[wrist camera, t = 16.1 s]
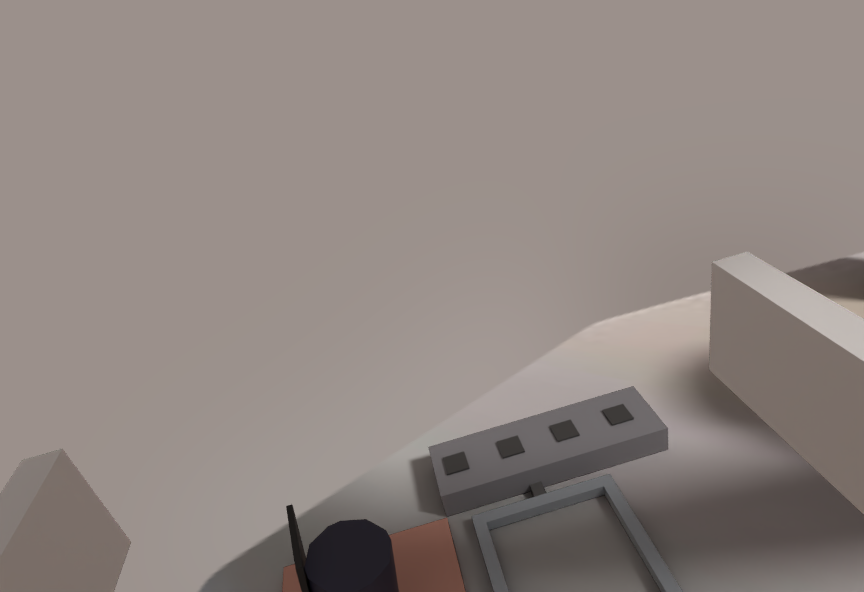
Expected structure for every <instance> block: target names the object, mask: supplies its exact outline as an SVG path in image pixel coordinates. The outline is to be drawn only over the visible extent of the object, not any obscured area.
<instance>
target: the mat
mask: <svg viewBox="0 0 864 592" xmlns="http://www.w3.org/2000/svg"><path fill="white" fill-rule="evenodd" d="M389 537H390V538H391V542H392V548H393V555H394V562H395V568H396V575H397V582H398V588H399V592H466V591H465V587H464V583H463V579H462V575H461V571H460V567H459V563H458V559H457V555H456V551H455V547H454V543H453V539H452V535H451V531H450V527H449V523H448V520H447V518H444V519H440V520H437V521H434V522H431V523H427V524H424V525H421V526H417V527H414V528H411V529H408V530H404V531H401V532H398V533H394V534H391V535H389ZM282 592H302V591H301V587H300V584H299V580H298V576H297V573H296V569H295V564H293V565H290V566H286V567H284V571H283V587H282Z"/></svg>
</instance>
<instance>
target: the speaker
mask: <svg viewBox="0 0 864 592" xmlns="http://www.w3.org/2000/svg"><path fill="white" fill-rule="evenodd" d="M287 514H288V521H289V528H290V535H291V542H292V548H293V555H294V562H295V569H296V573H297V576H298V580H299V584H300V587H301V591H302V592H399V588H398V582H397V575H396V568H395V562H394V555H393V548H392V542H391V538H390V537H389V535H388V533H387V531H386V530H384V529H383V528H381V527H379V526H377V525H375V524H374V523H372V522H370V521H368V520H366V519H364V520H348V521H339V522H337V523H335V524H333V525H330V526H328V527H327V528H326V529H325V530H324V531H323V532H322V533H321V534H320V535H319V536H318V537H317V538H316V539H315V540H314V541H313V542H312V543H311V544H310V545H309V549H308V553H307V558H306V557H305V553H304V549H303V545H302V541H301V537H300V533H299V529H298V525H297V521H296V517H295V513H294V510H293V506H292V505H289V506H287Z"/></svg>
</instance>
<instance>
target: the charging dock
mask: <svg viewBox="0 0 864 592" xmlns="http://www.w3.org/2000/svg"><path fill="white" fill-rule="evenodd" d="M667 449H668V428H667V427H666V425H665V424H664V423H663V422H662V420H661V419H660V418H659V417H658V416H657V414H656V413H655V412H654V411H653V410H652V408H651V407H650V406H649V405H648V403H647V402H646V401H645V400H644V399H643V397H642V396H641V395H640V394H639V393H638V391H637V390H636V389H635V388H634V386H632V387H629V388H625V389H622V390H618V391H615V392H612V393H608V394H605V395H602V396H598V397H595V398H592V399H588V400H585V401H582V402H578V403H575V404H571V405H568V406H565V407H561V408H558V409H555V410H551V411H548V412H545V413H541V414H538V415H534V416H531V417H528V418H524V419H521V420H518V421H514V422H511V423H508V424H504V425H501V426H498V427H494V428H491V429H487V430H484V431H481V432H477V433H474V434H471V435H467V436H464V437H461V438H457V439H454V440H450V441H447V442H444V443H440V444H437V445H434V446H430V447H429V451H430V455H431V460H432V464H433V468H434V472H435V476H436V480H437V484H438V488H439V492H440V496H441V499H442V503H443V506H444V509H445V512H446V516H447V517H448V516H451V515H454V514H457V513H461V512H464V511H467V510H471V509H474V508H477V507H480V506H484V505H487V504H490V503H494V502H497V501H500V500H503V499H507V498H510V497H513V496H517V495H520V494H523V493H526V492H530V491H531V492H532V495H533V497H532V498H529V499H526V500H522V501H519V502H516V503H512V504H509V505H506V506H503V507H499V508H496V509H493V510H490V511H486V512H483V513H480V514H476V515H473V516H472V520H473V524H474V527H475V530H476V534H477V537H478V540H479V544H480V547H481V550H482V554H483V557H484V560H485V564H486V567H487V570H488V574H489V577H490V581H491V584H492V587H493V591H494V592H509V591H508V588H507V585H506V582H505V578H504V575H503V572H502V569H501V566H500V563H499V560H498V557H497V554H496V551H495V548H494V544H493V541H492V538H491V535H490V532H489V530H491V529H494V528H498V527H501V526H504V525H507V524H511V523H514V522H517V521H520V520H524V519H527V518H530V517H533V516H537V515H540V514H543V513H546V512H550V511H553V510H556V509H559V508H563V507H566V506H569V505H572V504H576V503H579V502H582V501H585V500H589V499H592V498H595V497H598V496H602V495H605V496H606V498H607V500H608V501H609V503H610V505H611V506H612V508H613V510H614V512H615V513H616V515H617V517H618V518H619V520H620V522H621V524H622V525H623V527H624V529H625V530H626V532H627V534H628V536H629V537H630V539H631V541H632V542H633V544H634V546H635V548H636V549H637V551H638V553H639V554H640V556H641V558H642V560H643V561H644V563H645V565H646V566H647V568H648V570H649V572H650V573H651V575H652V577H653V578H654V580H655V582H656V584H657V585H658V587H659V589H660V590H661V592H683V591H682V589H681V588H680V586H679V584H678V583H677V581H676V580H675V578H674V576H673V575H672V573H671V572H670V570H669V568H668V567H667V565H666V563H665V562H664V560H663V559H662V557H661V555H660V554H659V552H658V551H657V549H656V547H655V546H654V544H653V543H652V541H651V539H650V538H649V536H648V534H647V533H646V531H645V530H644V528H643V526H642V525H641V523H640V522H639V520H638V518H637V517H636V515H635V513H634V512H633V510H632V509H631V507H630V505H629V504H628V502H627V501H626V499H625V497H624V496H623V494H622V493H621V491H620V489H619V488H618V486H617V484H616V483H615V481H614V480H613V478H612V476H611V475H610V474H607V475H604V476H601V477H598V478H594V479H591V480H588V481H584V482H581V483H578V484H575V485H571V486H568V487H565V488H562V489H558V490H555V491H552V492H548V493H546V491H545V489H544V487H546V486H549V485H553V484H556V483H559V482H562V481H566V480H569V479H572V478H576V477H579V476H582V475H585V474H589V473H592V472H595V471H599V470H602V469H605V468H608V467H612V466H615V465H618V464H621V463H625V462H628V461H631V460H635V459H638V458H641V457H644V456H648V455H651V454H654V453H658V452H661V451H664V450H667Z"/></svg>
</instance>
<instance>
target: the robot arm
mask: <svg viewBox="0 0 864 592" xmlns="http://www.w3.org/2000/svg"><path fill="white" fill-rule="evenodd" d="M711 281H712V282H711V315H710V352H709V370H710V371H711V372H712V373H713V374H714V375H715V376H716V377H717V378H718V379H719V380H720V381H722V382H723V383H724V384H725V385H726V386H727V387H728V388H729V389H730V390H731V391H732V392H733V393H734V394H735V395H737V396H738V397H739V398H740V399H741V400H742V401H743V402H744V403H745V404H746V405H747V406H748V407H749V408H750V409H751V410H753V411H754V412H755V413H756V414H757V415H758V416H759V417H760V418H761V419H762V420H763V421H764V422H765V423H766V424H767V425H769V426H770V427H771V428H772V429H773V430H774V431H775V432H776V433H777V434H778V435H779V436H780V437H781V438H782V439H783V440H785V441H786V442H787V443H788V444H789V445H790V446H791V447H792V448H793V449H794V450H795V451H796V452H797V453H798V454H799V455H801V456H802V457H803V458H804V459H805V460H806V461H807V462H808V463H809V464H810V465H811V466H812V467H813V468H814V469H816V470H817V471H818V472H819V473H820V474H821V475H822V476H823V477H824V478H825V479H826V480H827V481H828V482H829V483H830V484H832V485H833V486H834V487H835V488H836V489H837V490H838V491H839V492H840V493H841V494H842V495H843V496H844V497H845V498H846V499H848V500H849V501H850V502H851V503H852V504H853V505H854V506H855V507H856V508H857V509H858V510H859V511H860V512H861V513H862V514H864V319H863V318H861V317H860V316H858V315H856V314H855V313H853V312H851V311H849V310H848V309H846V308H844V307H842V306H841V305H839V304H837V303H835V302H834V301H832V300H830V299H829V298H827V297H825V296H823V295H822V294H820V293H818V292H816V291H815V290H813V289H811V288H810V287H808V286H806V285H804V284H803V283H801V282H799V281H797V280H796V279H794V278H792V277H790V276H789V275H787V274H785V273H784V272H782V271H780V270H778V269H777V268H775V267H773V266H771V265H769V264H768V263H766V262H764V261H763V260H761V259H759V258H758V257H756V256H754V255H752V254H751V253H749V252H744V253H741V254H738V255H734V256H731V257H727V258H724V259H720V260H717V261H713V262H712V280H711ZM130 544H131V542H130V540H129V539H128V537H127V536H126V534H125V533H124V532H123V530H122V529H121V528H120V526H119V525H118V524H117V522H116V521H115V520H114V518H113V517H112V516H111V514H110V513H109V511H108V510H107V509H106V507H105V506H104V505H103V503H102V502H101V500H100V499H99V498H98V496H97V495H96V494H95V492H94V491H93V490H92V488H91V487H90V485H89V484H88V483H87V482H86V480H85V479H84V477H83V476H82V475H81V473H80V472H79V471H78V469H77V468H76V467H75V465H74V464H73V462H72V461H71V460H70V458H69V457H68V456H67V454H66V453H65V451H64V450H63V449H60V450H56V451H53V452H49V453H46V454H42V455H39V456H36V457H32V458H28V459H25V460H22V461H21V463H20V464H19V466H18V467H17V469H16V470H15V472H14V474H13V475H12V476H11V478H10V480H9V481H8V483H7V484H6V486H5V488H4V489H3V490H2V492H1V493H0V592H114V590H115V587H116V584H117V581H118V578H119V575H120V572H121V570H122V567H123V564H124V561H125V558H126V555H127V552H128V550H129V546H130Z"/></svg>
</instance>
